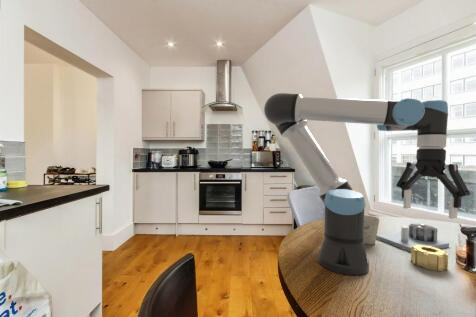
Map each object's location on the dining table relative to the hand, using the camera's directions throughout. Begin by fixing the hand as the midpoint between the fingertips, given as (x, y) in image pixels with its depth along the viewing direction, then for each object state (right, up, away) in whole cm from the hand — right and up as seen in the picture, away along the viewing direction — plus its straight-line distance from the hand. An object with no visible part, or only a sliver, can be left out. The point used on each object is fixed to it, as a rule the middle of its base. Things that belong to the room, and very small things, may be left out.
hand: (428, 212), depth 79 cm
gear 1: (+14, -15, +20) cm, 29 cm away
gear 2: (-1, -17, -1) cm, 17 cm away
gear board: (+8, -17, +19) cm, 27 cm away
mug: (-12, -16, +19) cm, 28 cm away
